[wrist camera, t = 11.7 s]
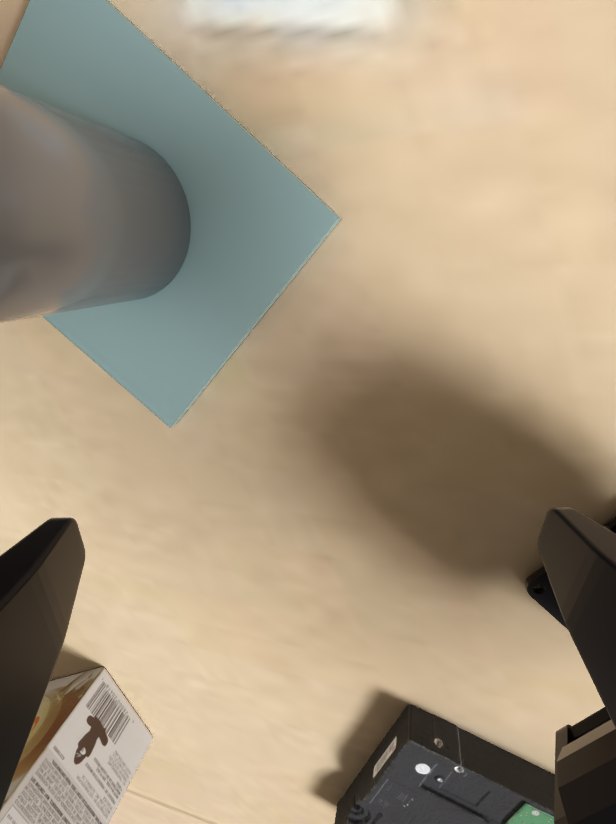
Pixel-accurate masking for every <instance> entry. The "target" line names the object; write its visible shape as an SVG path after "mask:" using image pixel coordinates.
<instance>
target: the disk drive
mask: <svg viewBox="0 0 616 824" xmlns="http://www.w3.org/2000/svg"><path fill="white" fill-rule="evenodd" d="M554 795H555V775H554V774H552V773H550V772H548V771H546V770H544V769H542V768H540V767H538V766H536V765H534V764H532V763H529V762H528V761H526V760H523V759H522V758H519V757H517V756H515V755H513V754H511V753H509V752H507V751H505V750H503V749H501V748H499V747H497V746H495V745H493V744H491V743H489V742H486V741H484V740H482V739H480V738H478V737H477V736H475V735H473V734H471V733H469V732H466V731H464V730H462V729H460V728H458V727H457V726H456V725H454V724H452V723H450V722H448V721H446V720H444V719H441V718H439V717H437V716H435V715H433V714H430V713H428V712H426V711H424V710H422V709H420V708H417V707H416V706H414V705H411V704H409V705H407V707H406V708H405V710H404V711H403V712H402V714H401V715H400V717H399V718H398V719H397V721H396V723H395V724H394V725H393V726H392V728H391V729H390V730H389V732H388V733H387V735H386V736H385V738H384V739H383V740H382V742H381V743H380V745H379V746H378V747H377V749H376V750H375V751H374V753H373V754H372V756H371V757H370V759H369V760H368V762H367V763H366V764H365V766H364V767H363V769H362V770H361V772H360V773H359V774H358V776H357V777H356V778H355V780H354V781H353V783H352V784H351V786H350V787H349V789H348V790H347V792H346V793H345V795H344V796H343V797H342V799H341V800H340V801H339V803H338V804H337V812H336V818H335V824H554Z"/></svg>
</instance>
